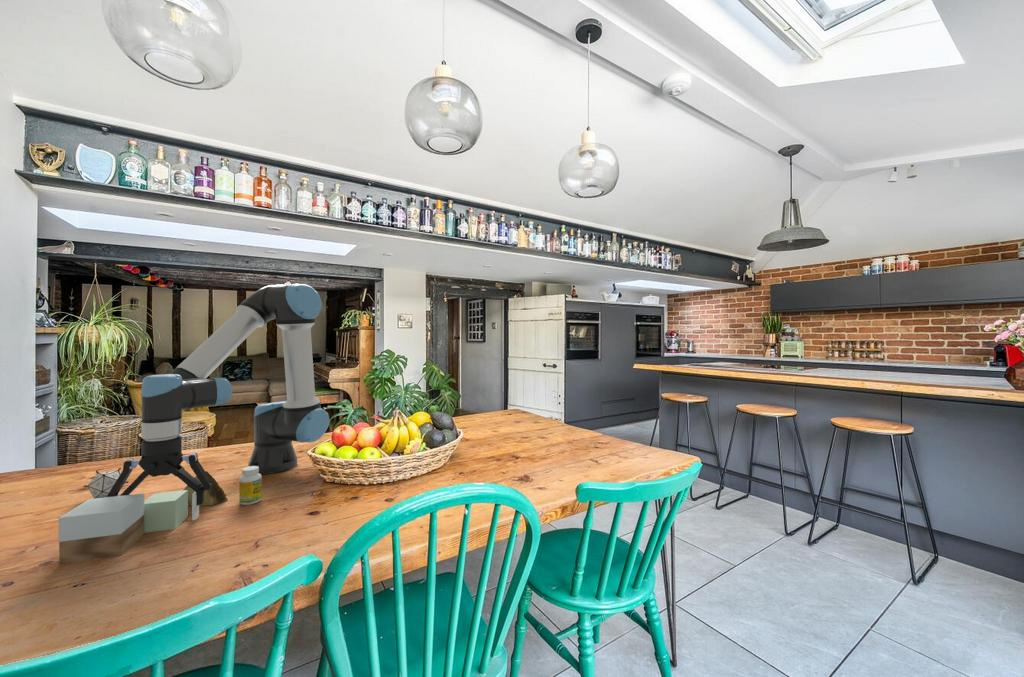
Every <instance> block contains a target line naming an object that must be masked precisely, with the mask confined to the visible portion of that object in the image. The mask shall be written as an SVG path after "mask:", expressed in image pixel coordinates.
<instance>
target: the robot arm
mask: <svg viewBox="0 0 1024 677" xmlns="http://www.w3.org/2000/svg"><path fill="white" fill-rule="evenodd" d="M322 307H323V304H322V299H321V297H320V294H319V293H318V291H317V290H315V288H314V287H312V286H311V285H309V284H304V283H297V282H296V283H286V284H269V285H266V286H263V287H260V288H259V289H258V290H256V291H254V292H253V293H252V294H250V295H249V296H247V298H245V299H244V300H242V302H241V303H240V304H238V305H237V306H236V308H235V313H234V314H233V315H232V316H230V318H228V319H227V321H225V322H224V323H223V324H222V325H221V326H220V327H219V328H218V329H216V330H215V332H213V333H212V334H211V335H210V336H208V338H207V339H206V340H205V341H203V343H201V344H200V345H199V346H198V347H197V348H196V349H195V350H194V351H192V352H191V353H190V354H189V356H187V357H186V358H185V359H184V360H182V362H180V364H178V365H177V366H176V367H175V368H174V369H173V370H172V371H170V373H167V374H152V375H151V374H150V375H147V376H145V377H144V378H143V379H142V382H141V383H142V384H141V389H140V390H141V392H140V397H141V429H140V430H141V431H140V432H141V438H142V439H143V440H142V441H141V443H140V446H141V447H140V449H141V450H140V451H141V453H140V454H141V457H140V459H135V458H133V457H130V458H129V459H127V460H126V461H124V462H123V465H122V471H121V472H120V473H121V474H120V476H119V477H118V479H117V481H116V482H115V484H114V485H113V487H112V489H111V490H110V492H109V494H108V495H107V497H114V496H124V495H131V494H132V492H134V490H136V488H137V487H138V486H139V485H140V484H141V483H143V482H144V480H146V479H147V478H148V477H149V476H152V478H153V477H158V476H159V477H160V476H164V477H165V476H169V475H173V476H174V477H177V478H178V479H179V480H181V481H182V482H183V483H184V484H185V485H186V486H187V485H188V486H189V487H190V488H191V489H193V490H194V491H195V492H194V493H193V494H192V505H191V521H195V520H197V519H198V518H199V516H200V506H203V505H202V503H203V501H204V491H205V490H208V489H210V488H211V486H212V485H213V483H212V481H211V480H210V478H209V476H208V475H207V473H206V472H205V471H206V470H205V469H204V467H203V466H202V463H200V461H199V456H198V453H197V452H193V453H191V454H186V455H184V454H183V452H182V451H183V450H182V446H183V444H182V443H183V439H182V438H183V437H182V436H181V434H182V429H183V427H182V424H183V423H182V422H183V421H182V420H183V418H182V416H183V415H182V414H183V411H186V410H191V409H199V408H205V407H211V406H213V407H216V406H218V405H222V404H223V405H224V404H226V403H228V402H229V400H230V399H231V397H232V395H233V393H232V392H233V391H232V388H233V387H232V384H231V383H230V381H229V379H227V378H224V377H211V378H208V377H209V376H210V375H211V374H212V373H213V372H214V371H215V370H216V369H217V368H219V366H220V365H221V364H222V363H223V362H224V361H225V360H226V359H227V358H228V357H229V356H230V355H231V354H232V353H233V352H234V351H235V350H236V349H237V348H238V347H240V345H242V344H243V342H244V341H245V340H246V339H247V338H248V337H250V335H251V334H252V333H253V332H254V331H255V330H256V329H257V328H263V327H264V326H265V325H266V324H267V323H268V322H270V321H272V320H275V323H276V326H277V327H278V328H280V329H281V334H282V347H283V359H284V360H283V361H284V362H283V363H284V373H285V374H284V375H285V386H286V388H285V389H286V400H284V401H276V402H275V401H274V402H268V403H263V404H258V405H257V406H255V408H254V413H253V433H254V434H253V437H254V438H253V442H254V443H253V444H254V445H253V450H252V453H251V456H250V458H249V461H248V463H247V464H248V465H247V467H249V466H258V467H259V472H258V473H259V474H261V475H263V474H264V475H265V474H272V473H279V472H284V471H287V470H290V469H292V468H294V467H296V466H297V465H298V456H297V454H296V453H297V452H296V450H295V448H294V445H293V442H297V443H303V444H305V443H314V442H315V443H316V442H317V441H318V440H320V439H321V438H322V437H323V436H324V435H325V433H326V432H327V429H328V427H329V424H330V416H329V413H328V411H326V409H324V408H322V407H321V399H319V398H318V397H316V389H315V374H314V360H313V344H312V343H313V342H312V330H311V329H312V327H313V326H314V325H315V324H316V318H317V317H318V316H320V312H321V311H322V309H323V308H322ZM183 461H185V463H186V464H188V465H189V467H190V468H191V470H192V472H193V473H194V475H195V477H196V476H197V478H198V479H199V481H200V482H201V483H200V482H199V481H197V480H196V479H195V477H194V476H193V475H192V474H191V473H189V472H188V471H187V470H186V468H184V467H183V466H182V463H183ZM137 466H139V467H140V468H141V469H142V470H143V471H142V472H141V473H140V474H139V475H138V476H137V478H136V479H134V481H132V483H130V485H128V487H127V488H125V489H124V491H123V492H122V493H120V491H121V489H123V487H124V486H125V484H126V483H125V482H126V481H127V480H128V478H129V477H130V475H131V473H132V472H133V470H134V469H136V468H137ZM124 483H125V484H124Z"/></svg>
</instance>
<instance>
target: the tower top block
mask: <svg viewBox="0 0 1024 677" xmlns="http://www.w3.org/2000/svg"><path fill="white" fill-rule="evenodd" d="M144 501H145V493H137V494H135V493H134V494H129V495H124V496H114V497H104V498H95V499H94V498H89V499H87V500H85V501H84V502H82V503H80V504H79V505H77V506H76V507H74V508H72V509H71V510H69V511H68V512H66V513H64V514H63V515H61V516H60V517H58V543H59V542H63V541H70V540H78V539H86V538H94V537H101V536H109V535H117V534H121V533H123V532H124V531H125V530H126V529H127V528H129V527H130V526H131V525H132V524H133V523H135V522H136V521H137V520H138V519H139V518H141V517H142V516H143V515H144Z"/></svg>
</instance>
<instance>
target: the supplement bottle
mask: <svg viewBox="0 0 1024 677" xmlns="http://www.w3.org/2000/svg"><path fill="white" fill-rule="evenodd" d="M258 472H259V467H258V466H249V467H248V466H246V467H243V468H242V469H241V474H242V475H241V476H240V477H239V479H238V480H239V481H238V484H239V487H238V488H239V494H238V495H239V497H238V498H239V501H238V502H239V504H240V505H242V506H249V505H254V504H256V503H259V502H261V500H262V491H263V490H262V488H263V487H262V485H263V484H262V482H263V481H262V480H263V478H262V474H259V473H258Z"/></svg>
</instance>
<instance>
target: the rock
mask: <svg viewBox="0 0 1024 677" xmlns="http://www.w3.org/2000/svg"><path fill="white" fill-rule="evenodd" d="M205 472H206V473H207V475H208V476H209V478H210V480H211V481H212V483H213V485H212V486H211V488H210V489H208V490H205V491H204V501H203V503H202V505H201V506H213V505H217V504H220V503H224V502H226V501H228V497H227V495H226V493H225V490H223V488H222V487H221V486H220V485H219V483H218V482H217V480H216V479H215V478H214V477H213V476H212V474H210V472H208V471H207V470H205ZM194 478H195V479H196V480H197V481H199V479H198V478H197V476H196V475H195V477H194ZM199 482H200V481H199ZM200 483H201V482H200ZM183 490H188V506H190V505H191V506H192V494H193V493H194V492H195V491H194V490H193V489H191V488H190V487H189V486H188V485H187V484H186V486H185V488H184V489H183Z"/></svg>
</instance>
